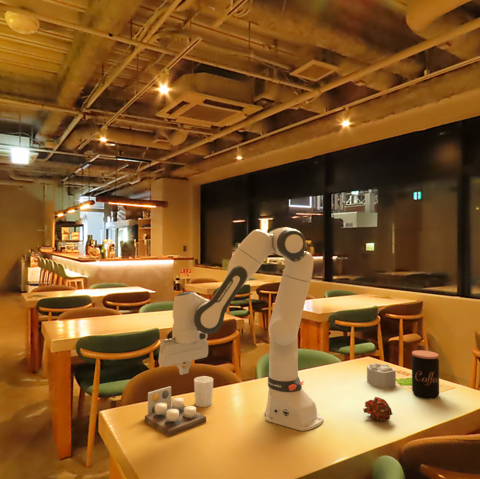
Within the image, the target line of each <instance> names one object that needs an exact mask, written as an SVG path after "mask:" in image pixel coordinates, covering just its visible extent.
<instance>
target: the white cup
mask: <svg viewBox="0 0 480 479" xmlns="http://www.w3.org/2000/svg"><path fill="white" fill-rule="evenodd" d="M193 387H194V388H193V389H194V398H195V399H194V400H195V401H194V402H195V403H194V404H195V406H197V407H199V408H200V407H201V408H207V407H210V406H211V405H212V404H213V391H214V378H213V377H212V376H207V375H206V376H205V375H202V376H197V377H194V379H193Z"/></svg>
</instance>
